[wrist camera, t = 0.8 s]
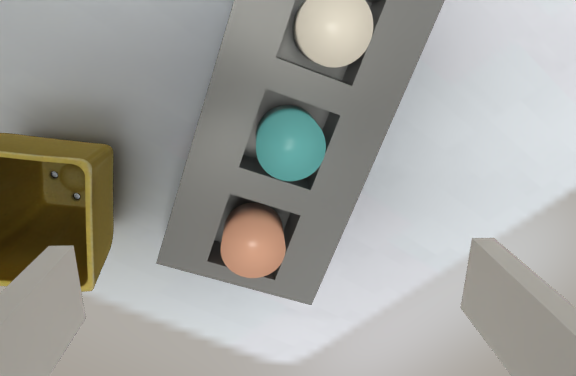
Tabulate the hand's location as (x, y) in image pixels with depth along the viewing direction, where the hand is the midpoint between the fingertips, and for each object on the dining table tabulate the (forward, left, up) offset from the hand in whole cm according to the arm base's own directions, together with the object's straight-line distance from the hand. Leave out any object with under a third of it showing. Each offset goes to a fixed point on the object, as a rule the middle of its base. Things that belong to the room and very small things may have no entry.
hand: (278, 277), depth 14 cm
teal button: (+1, +1, -17) cm, 17 cm away
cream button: (+1, +9, -17) cm, 19 cm away
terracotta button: (+1, -6, -17) cm, 18 cm away
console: (+1, +1, -20) cm, 20 cm away
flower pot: (-13, -8, -21) cm, 25 cm away
